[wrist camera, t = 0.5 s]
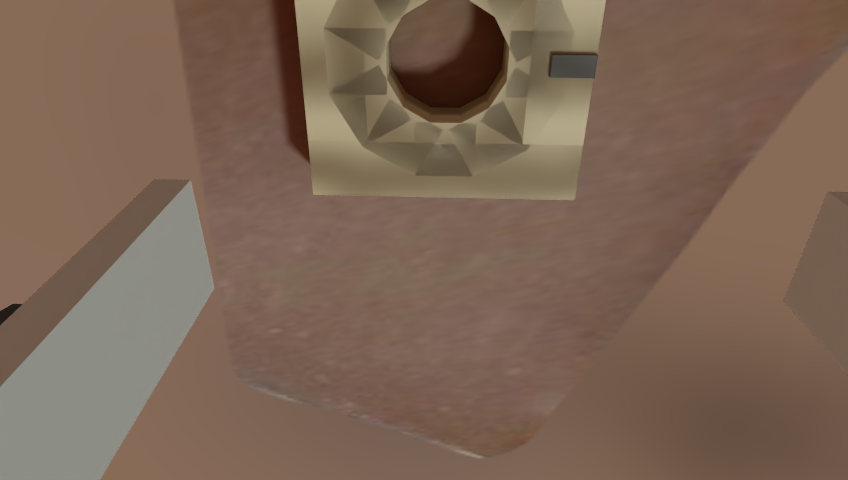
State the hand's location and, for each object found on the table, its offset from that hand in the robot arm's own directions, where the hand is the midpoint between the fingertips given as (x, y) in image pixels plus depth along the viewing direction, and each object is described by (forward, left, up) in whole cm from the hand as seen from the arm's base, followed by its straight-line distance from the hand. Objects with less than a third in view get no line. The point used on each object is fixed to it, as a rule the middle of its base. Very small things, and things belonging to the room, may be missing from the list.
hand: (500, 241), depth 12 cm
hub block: (+1, -1, -24) cm, 24 cm away
